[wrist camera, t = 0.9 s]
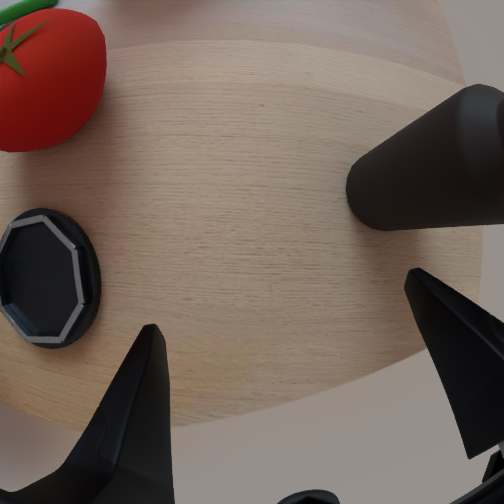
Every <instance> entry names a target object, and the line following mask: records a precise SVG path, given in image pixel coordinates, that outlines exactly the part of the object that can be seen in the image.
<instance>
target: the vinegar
mask: <svg viewBox="0 0 504 504" xmlns="http://www.w3.org/2000/svg"><path fill="white" fill-rule="evenodd" d="M346 193H347V198H348V203H349V205H350V207H351V209H352V211H353V213H354V214H355V215H356V216H357V217H358V219H359V220H360V221H361V222H362V223H364V224H365V225H367V226H369V227H370V228H372V229H376V230H381V231H394V230H409V229H425V228H441V227H458V226H476V225H492V224H493V225H494V224H504V93H503V92H502V91H500V90H498V89H496V88H494V87H490V86H487V85H482V84H475V85H472V86H469V87H466V88H463V89H462V90H460V91H459V92H457V93H456V94H454V95H453V96H451V97H450V98H448V99H447V100H445V101H444V102H442V103H441V104H439V105H438V106H436V107H435V108H433V109H432V110H430V111H429V112H427V113H426V114H424V115H423V116H421V117H420V118H418V119H417V120H415V121H414V122H412V123H411V124H409V125H408V126H406V127H405V128H403V129H402V130H400V131H399V132H397V133H396V134H395V135H393V136H392V137H390V138H389V139H387V140H386V141H384V142H383V143H381V144H380V145H378V146H377V147H375V148H374V149H373V150H371V151H370V152H368V153H367V154H365V155H364V156H362V157H361V158H359V160H358V161H357V162H356V163H355V164H354V165H353V166H352V168H351V170H350V172H349V174H348V177H347V184H346Z"/></svg>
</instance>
